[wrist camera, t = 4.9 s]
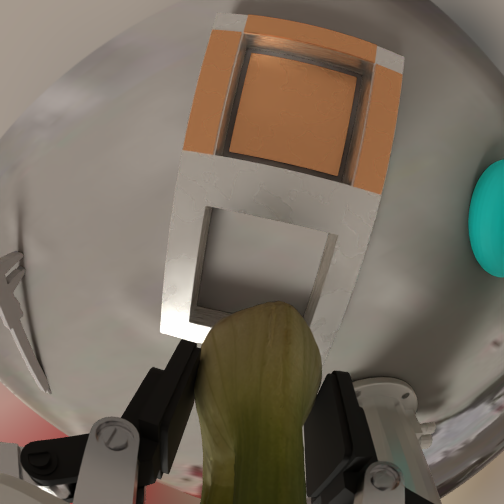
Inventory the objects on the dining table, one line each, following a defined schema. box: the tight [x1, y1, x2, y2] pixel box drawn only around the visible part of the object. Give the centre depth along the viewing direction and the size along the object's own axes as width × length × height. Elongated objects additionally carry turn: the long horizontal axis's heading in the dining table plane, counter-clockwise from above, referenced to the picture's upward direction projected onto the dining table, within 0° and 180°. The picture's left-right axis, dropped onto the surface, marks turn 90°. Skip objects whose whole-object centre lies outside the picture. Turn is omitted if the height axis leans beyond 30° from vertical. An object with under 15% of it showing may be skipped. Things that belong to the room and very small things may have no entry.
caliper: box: [0, 251, 51, 394], centre depth 22 cm, size 20×1×6 cm, turn 168°
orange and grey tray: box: [160, 13, 404, 366], centre depth 17 cm, size 12×22×3 cm, turn 169°
